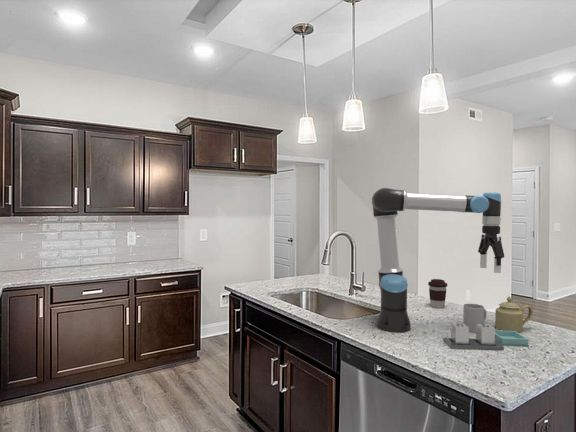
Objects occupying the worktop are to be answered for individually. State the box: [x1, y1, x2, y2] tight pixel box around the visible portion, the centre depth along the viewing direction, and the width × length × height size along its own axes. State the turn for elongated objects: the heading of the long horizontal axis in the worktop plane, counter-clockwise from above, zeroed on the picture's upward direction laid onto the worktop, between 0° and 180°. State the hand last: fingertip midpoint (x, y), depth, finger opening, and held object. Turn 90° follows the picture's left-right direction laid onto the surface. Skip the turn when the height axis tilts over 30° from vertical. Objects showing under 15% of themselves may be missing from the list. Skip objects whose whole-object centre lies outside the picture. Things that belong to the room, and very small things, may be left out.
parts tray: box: [495, 329, 529, 347], centre depth 159 cm, size 10×10×3 cm
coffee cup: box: [427, 278, 448, 309], centre depth 213 cm, size 10×10×15 cm
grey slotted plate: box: [442, 337, 505, 351], centre depth 154 cm, size 20×9×1 cm, turn 86°
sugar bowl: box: [494, 295, 533, 333], centre depth 176 cm, size 15×11×15 cm
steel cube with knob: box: [475, 323, 496, 346], centre depth 153 cm, size 5×5×8 cm
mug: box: [462, 303, 487, 334], centre depth 174 cm, size 12×8×11 cm
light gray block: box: [450, 322, 470, 345], centre depth 154 cm, size 5×5×8 cm
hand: (490, 270), depth 181 cm, fingers open, 13 cm apart
